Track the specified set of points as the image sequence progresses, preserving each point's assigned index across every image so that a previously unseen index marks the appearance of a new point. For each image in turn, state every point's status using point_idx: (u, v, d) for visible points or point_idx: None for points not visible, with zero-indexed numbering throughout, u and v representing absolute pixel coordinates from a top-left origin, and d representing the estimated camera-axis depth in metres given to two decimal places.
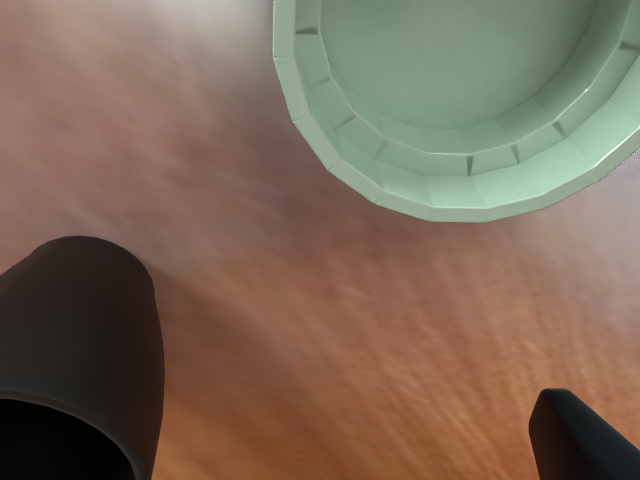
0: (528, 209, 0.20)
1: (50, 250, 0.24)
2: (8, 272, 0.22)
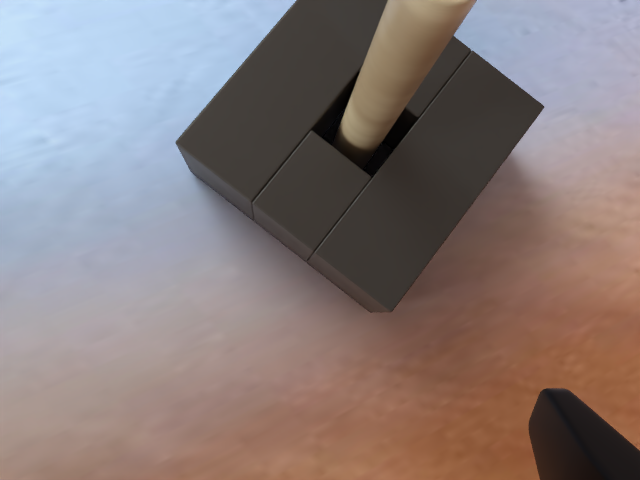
0: None
1: None
2: None
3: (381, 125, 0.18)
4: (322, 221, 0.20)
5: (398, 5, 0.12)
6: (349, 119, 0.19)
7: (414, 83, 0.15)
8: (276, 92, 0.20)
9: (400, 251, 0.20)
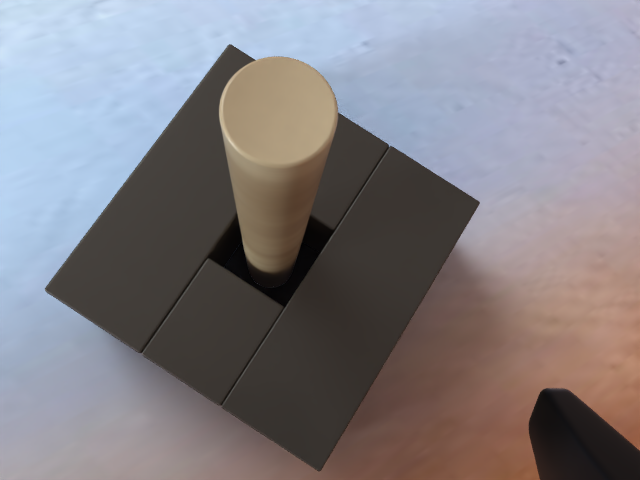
0: None
1: None
2: None
3: (279, 257, 0.15)
4: (228, 367, 0.17)
5: (229, 159, 0.09)
6: (245, 248, 0.16)
7: (293, 226, 0.12)
8: (163, 217, 0.17)
9: (325, 394, 0.17)
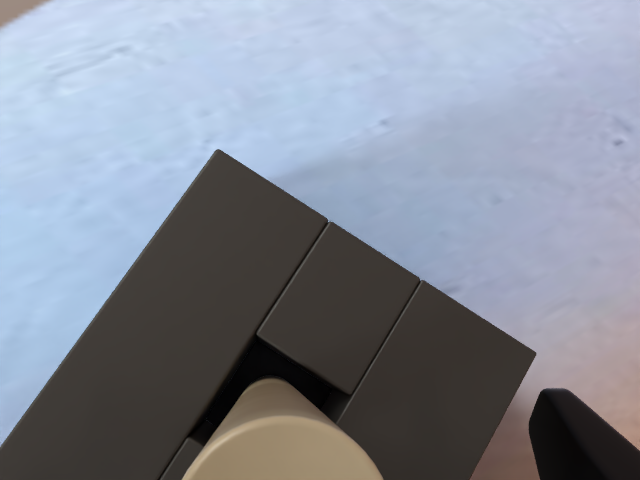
0: None
1: None
2: None
3: None
4: None
5: None
6: None
7: None
8: (130, 383, 0.13)
9: None
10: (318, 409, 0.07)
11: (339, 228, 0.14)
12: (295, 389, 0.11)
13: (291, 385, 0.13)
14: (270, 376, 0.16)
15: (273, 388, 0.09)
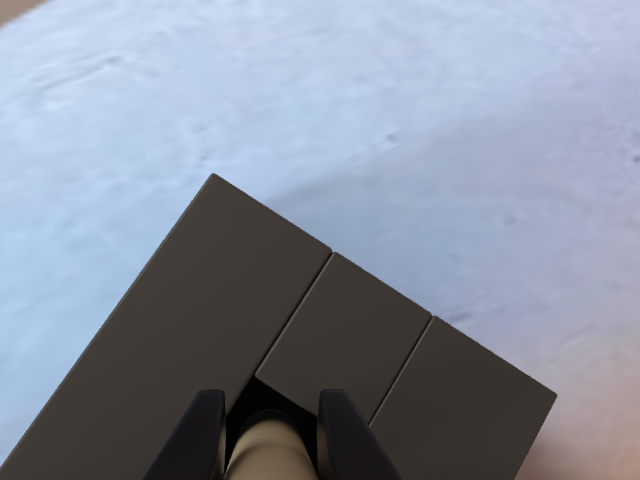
0: None
1: None
2: None
3: None
4: None
5: None
6: None
7: None
8: (117, 430, 0.12)
9: None
10: None
11: (344, 259, 0.13)
12: (296, 449, 0.10)
13: (292, 433, 0.12)
14: (269, 414, 0.15)
15: (271, 467, 0.08)
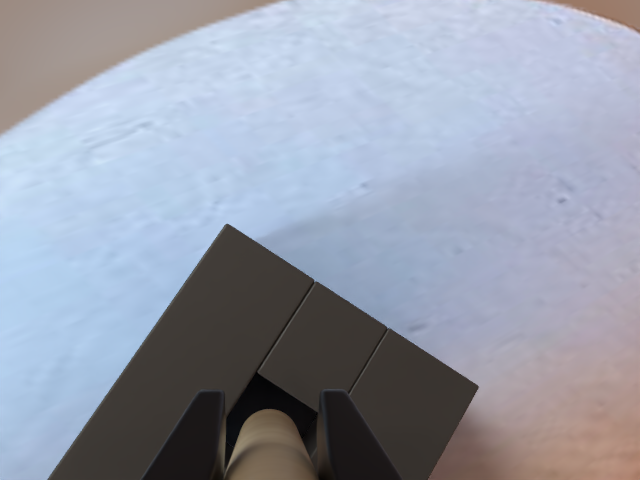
0: None
1: None
2: None
3: None
4: None
5: None
6: None
7: None
8: (160, 411, 0.17)
9: None
10: None
11: (323, 287, 0.18)
12: (296, 448, 0.10)
13: (292, 433, 0.12)
14: (269, 414, 0.15)
15: (271, 466, 0.08)
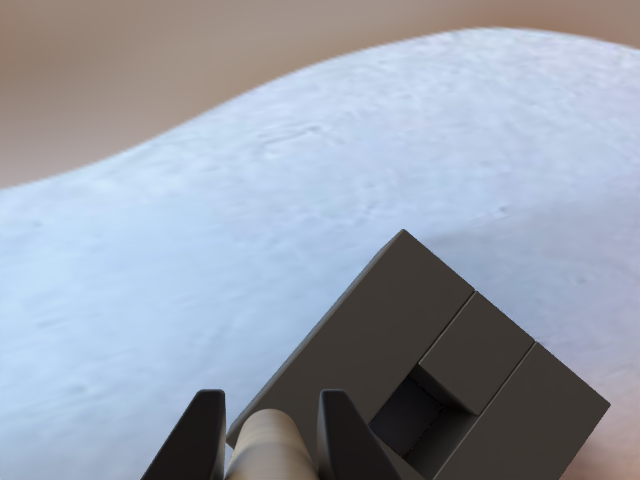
0: None
1: None
2: None
3: None
4: None
5: None
6: None
7: None
8: (332, 385, 0.19)
9: None
10: None
11: (482, 296, 0.20)
12: (297, 448, 0.10)
13: (292, 432, 0.12)
14: (270, 413, 0.15)
15: (272, 466, 0.08)
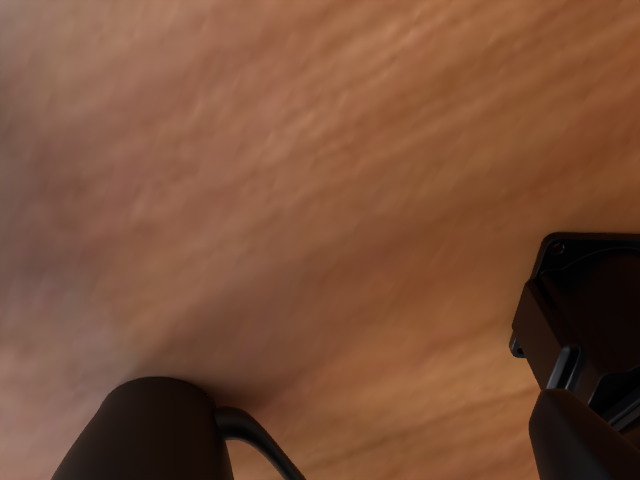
0: None
1: None
2: None
3: None
4: None
5: None
6: None
7: None
8: None
9: None
10: None
11: None
12: None
13: None
14: None
15: None
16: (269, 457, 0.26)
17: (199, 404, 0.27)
